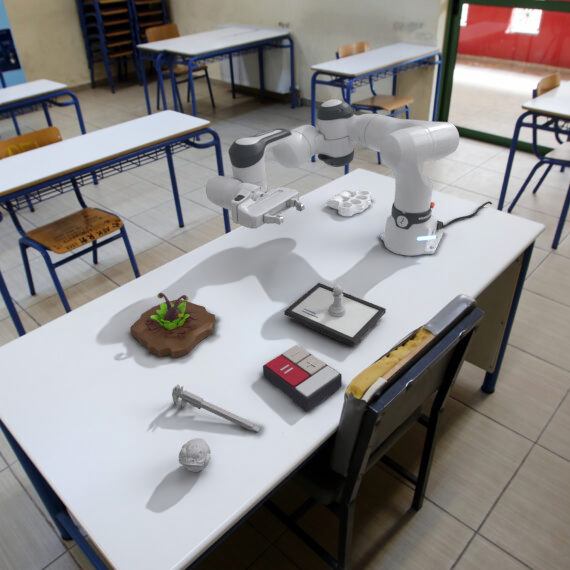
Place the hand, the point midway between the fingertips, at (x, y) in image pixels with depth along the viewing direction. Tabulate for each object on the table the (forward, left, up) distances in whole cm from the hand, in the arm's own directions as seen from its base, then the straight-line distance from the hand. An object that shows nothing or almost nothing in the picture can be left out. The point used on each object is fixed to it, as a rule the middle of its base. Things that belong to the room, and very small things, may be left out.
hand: (292, 214), depth 132 cm
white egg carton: (-57, -15, -24) cm, 64 cm away
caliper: (+48, +14, -24) cm, 56 cm away
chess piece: (+5, +18, -21) cm, 28 cm away
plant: (+33, -15, -24) cm, 44 cm away
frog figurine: (+59, +20, -24) cm, 67 cm away
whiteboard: (+5, +17, -24) cm, 30 cm away
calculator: (+28, +23, -24) cm, 44 cm away
